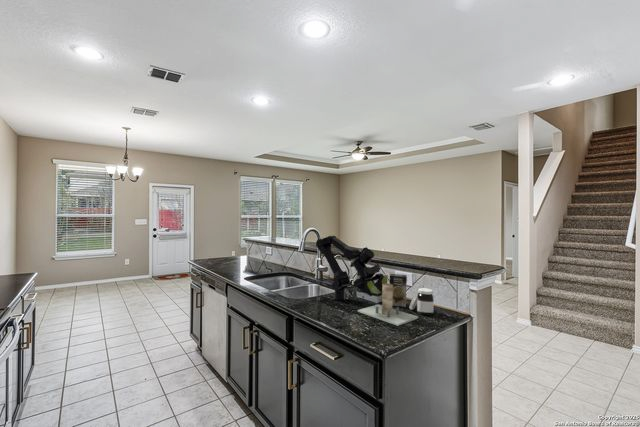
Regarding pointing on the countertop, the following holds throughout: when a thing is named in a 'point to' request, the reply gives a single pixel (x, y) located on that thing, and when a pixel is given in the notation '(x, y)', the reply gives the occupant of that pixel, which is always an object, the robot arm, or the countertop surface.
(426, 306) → the spread jar
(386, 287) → the birch cylinder
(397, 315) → the standoff plate
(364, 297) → the tea box
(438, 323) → the countertop surface
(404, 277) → the coffee box
